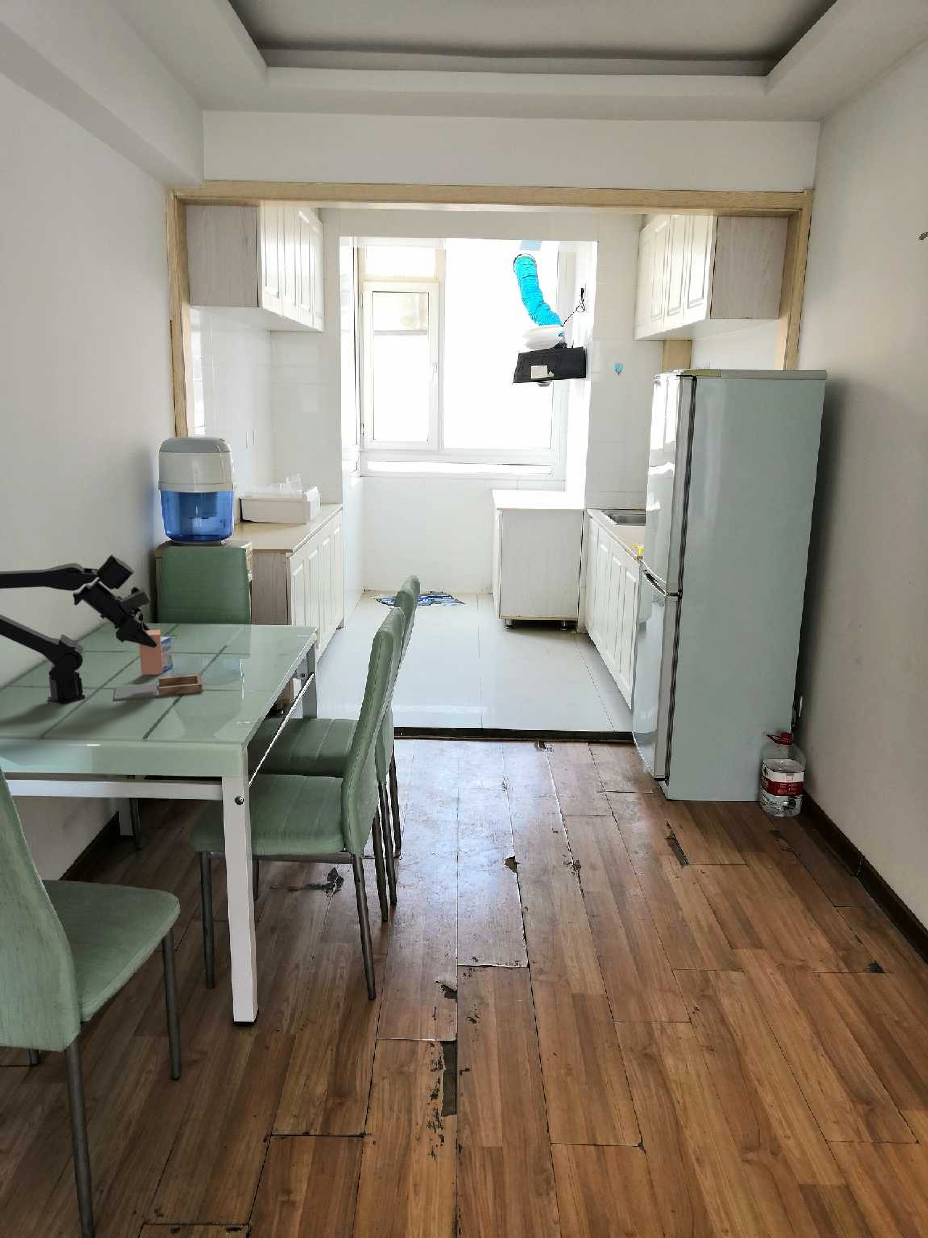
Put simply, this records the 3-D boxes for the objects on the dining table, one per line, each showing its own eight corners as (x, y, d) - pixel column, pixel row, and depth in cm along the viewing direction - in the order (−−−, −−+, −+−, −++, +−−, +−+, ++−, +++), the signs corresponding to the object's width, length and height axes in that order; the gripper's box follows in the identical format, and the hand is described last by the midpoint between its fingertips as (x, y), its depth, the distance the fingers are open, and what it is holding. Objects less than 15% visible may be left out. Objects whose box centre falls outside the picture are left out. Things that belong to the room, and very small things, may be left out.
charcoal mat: (113, 700, 228) (113, 698, 228) (116, 688, 238) (115, 686, 237) (156, 696, 231) (156, 694, 231) (157, 684, 240) (157, 683, 240)
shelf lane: (159, 695, 232) (158, 688, 231) (159, 685, 240) (158, 677, 240) (202, 691, 235) (202, 684, 234) (201, 681, 243) (200, 674, 243)
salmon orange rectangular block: (141, 674, 231) (138, 635, 229) (141, 669, 236) (139, 631, 234) (162, 673, 233) (159, 634, 230) (162, 667, 237) (160, 629, 235)
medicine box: (158, 675, 248) (156, 644, 246) (143, 674, 249) (140, 643, 247) (173, 667, 256) (171, 636, 254) (158, 666, 257) (156, 636, 255)
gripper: (127, 586, 219) (178, 628, 225) (129, 572, 236) (178, 611, 242) (93, 621, 218) (146, 662, 224) (99, 604, 236) (148, 643, 242)
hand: (156, 643), depth 233 cm, fingers closed on salmon orange rectangular block, 5 cm apart
